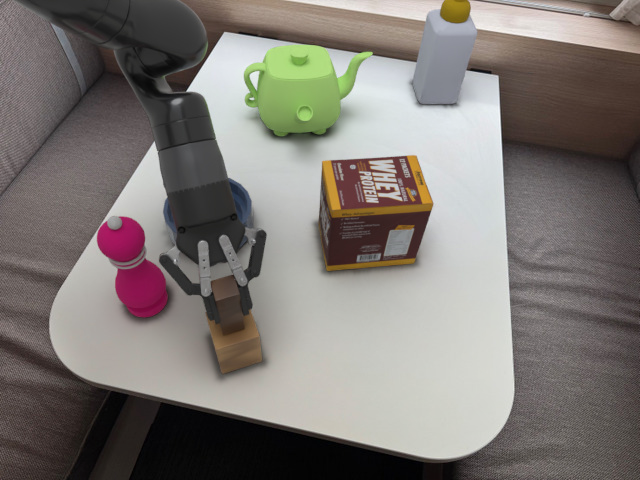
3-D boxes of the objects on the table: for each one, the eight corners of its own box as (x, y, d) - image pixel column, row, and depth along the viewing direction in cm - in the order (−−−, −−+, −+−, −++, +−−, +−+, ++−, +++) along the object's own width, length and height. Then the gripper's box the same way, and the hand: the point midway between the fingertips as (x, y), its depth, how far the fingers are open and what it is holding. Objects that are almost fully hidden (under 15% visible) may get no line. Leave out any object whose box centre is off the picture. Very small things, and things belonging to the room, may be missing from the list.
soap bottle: (457, 105, 115) (492, -7, 95) (417, 105, 114) (444, -8, 94) (448, 80, 120) (480, -31, 100) (410, 81, 119) (434, -31, 99)
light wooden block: (222, 374, 74) (215, 349, 68) (212, 338, 78) (205, 311, 71) (262, 361, 76) (259, 336, 70) (250, 326, 79) (247, 299, 73)
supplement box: (316, 223, 92) (321, 159, 80) (401, 217, 94) (417, 153, 82) (325, 272, 86) (330, 210, 74) (415, 264, 88) (435, 202, 75)
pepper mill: (114, 297, 81) (72, 215, 65) (155, 273, 84) (124, 188, 69) (138, 329, 78) (99, 250, 62) (180, 302, 81) (153, 221, 65)
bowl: (178, 270, 85) (172, 250, 81) (162, 207, 93) (156, 186, 89) (263, 247, 89) (262, 227, 84) (240, 188, 97) (238, 167, 92)
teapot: (249, 166, 100) (243, 98, 88) (244, 96, 113) (239, 28, 101) (376, 159, 103) (387, 92, 90) (357, 91, 116) (365, 25, 103)
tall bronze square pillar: (223, 335, 69) (215, 300, 62) (217, 316, 71) (209, 280, 64) (244, 328, 70) (240, 293, 63) (238, 310, 72) (233, 274, 64)
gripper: (135, 197, 57) (176, 343, 60) (258, 169, 61) (292, 308, 63) (138, 196, 64) (175, 326, 67) (248, 171, 68) (279, 296, 71)
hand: (232, 317), depth 65 cm, fingers closed on tall bronze square pillar, 3 cm apart
